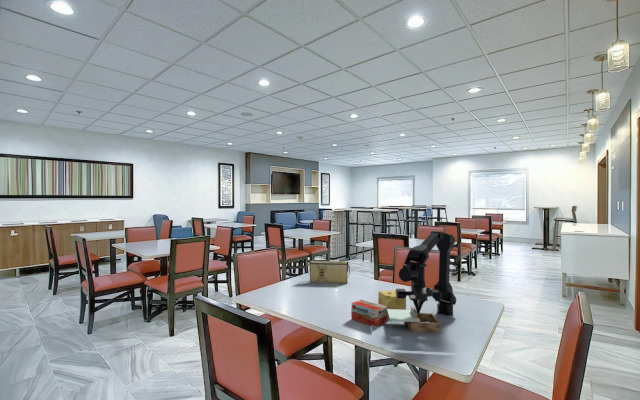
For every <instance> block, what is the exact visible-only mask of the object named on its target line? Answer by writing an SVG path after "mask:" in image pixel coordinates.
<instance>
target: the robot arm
mask: <svg viewBox="0 0 640 400" xmlns="http://www.w3.org/2000/svg"><path fill="white" fill-rule="evenodd" d="M455 243H456V238H455V236H453V234H450V233H446V232H443V231H442V230H441V231H440V230H432V231H430V234H429V235H428V236H427V237H426V238H425V239H424V240H423V242H421V243H420V244H419V245H415V246H414V247H412V248H410V250H409V251H408V252H407V255H406V259H405V261H404V264H403V265H402V268H401V269H400V270H399V271H398V276H399V279H400V280H401V282H403V283H407V282H410V289H411V290H406V289H405V288H396V289H395V290H396V291H395V293H396V297H397V298H406V299H407V296H408V298H409V300H410V301H412V302H413V305H414V308H415V310H416V311H417V314H419V313H421V309H422V307H423V305H424V303H425V302H427V301H428V298H431V297H432V299H434V301H435V302H437V304H436V313H438V315H443V316H451V315H452V316H453V315H454V305H456V303H457V297H456V296H455V294H454V290H453V289H454V288H453V287H452V284H451V283H450V272H451V270H450V269H451V252H452V250H454V248H455ZM435 246H436V248H437V250H438V253H439V255H438V256H439V257H438V258H439V260H438V281H437V282H436V284H434V286H433V288H432V287H426V281H425V277H426V276H425V273H426V272H425V271H426V270H425V268H426V267H428V265H427V264H426V262H427V260H428V259H429V257H430V256H429V255H430V252H431V251H432V250H433V248H434V247H435Z"/></svg>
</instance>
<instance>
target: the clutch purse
mask: <svg viewBox="0 0 640 400" xmlns="http://www.w3.org/2000/svg"><path fill="white" fill-rule="evenodd" d="M350 268H351V267H350V263H349V261H341V260H340V261H333V260H331V261H330V260H309V262H308V264H307V267H306V270H307V274H308V275H309V282H310V283H324V284H325V283H326V284H327V283H330V284H331V283H333V284H348V278H349V277H350V275H351V271H350V270H351V269H350Z"/></svg>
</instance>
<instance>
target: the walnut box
mask: <svg viewBox="0 0 640 400" xmlns="http://www.w3.org/2000/svg"><path fill="white" fill-rule="evenodd" d="M417 317H418V319H419V320H420V322H406V324H407V326H408V329H409V332H410V333H423V334H441V323H440V321H439V320H438V318H437V317H436V315H435V314H434V313H433V312H420V313H419V314H417Z"/></svg>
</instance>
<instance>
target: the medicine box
mask: <svg viewBox="0 0 640 400" xmlns="http://www.w3.org/2000/svg"><path fill="white" fill-rule="evenodd" d="M350 312H351V313H350V314H351V317H350V318H351V320H353V321H356V322H359V323H362V324H365V325H367V326H371V327H372V326H376V327H379V326H381V325H383V324H385V323H387V322H388V318H389V316H388V315H387V306H384V305H380V304H378V303H376V302H372V301H369V300H365V299H358V300H356V301H353V302H351V311H350Z"/></svg>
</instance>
